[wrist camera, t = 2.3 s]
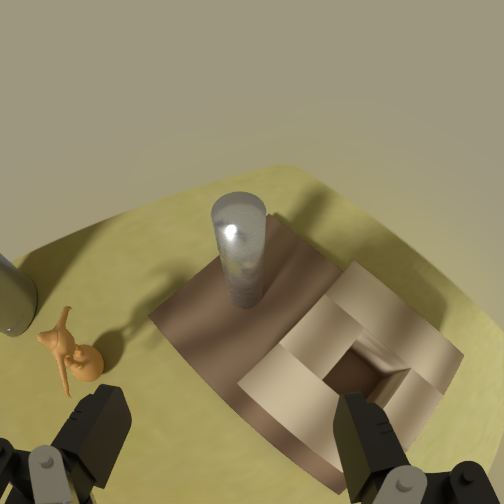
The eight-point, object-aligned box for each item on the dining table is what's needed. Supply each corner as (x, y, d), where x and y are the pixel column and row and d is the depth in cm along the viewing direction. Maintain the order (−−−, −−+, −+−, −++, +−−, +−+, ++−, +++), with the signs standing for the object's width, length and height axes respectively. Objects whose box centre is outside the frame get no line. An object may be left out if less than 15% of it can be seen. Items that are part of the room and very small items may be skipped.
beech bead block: (241, 387, 24) (236, 383, 19) (337, 287, 29) (354, 259, 24) (348, 477, 19) (371, 492, 14) (431, 367, 24) (464, 355, 19)
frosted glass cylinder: (221, 293, 29) (200, 212, 18) (245, 271, 30) (239, 184, 19) (245, 315, 28) (237, 244, 16) (269, 292, 29) (277, 211, 18)
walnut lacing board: (152, 320, 29) (148, 315, 28) (268, 221, 35) (269, 213, 34) (335, 491, 19) (338, 495, 18) (436, 359, 25) (443, 356, 24)
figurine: (81, 332, 28) (15, 290, 18) (124, 328, 28) (64, 282, 18) (83, 402, 24) (8, 386, 13) (129, 402, 24) (60, 392, 14)
